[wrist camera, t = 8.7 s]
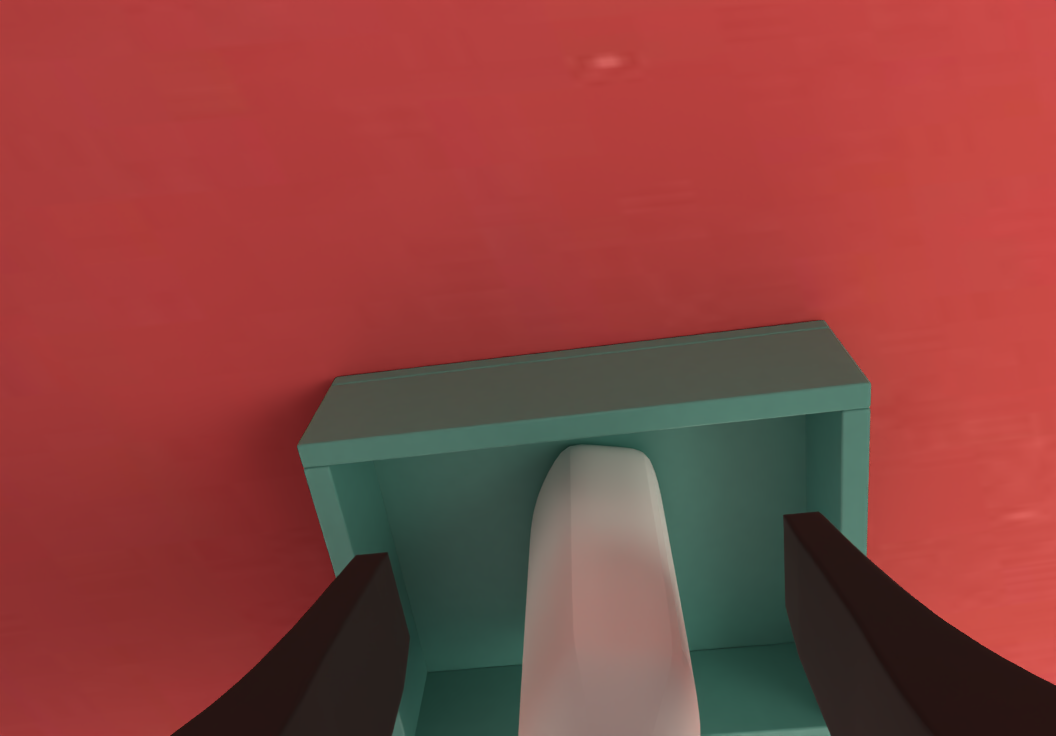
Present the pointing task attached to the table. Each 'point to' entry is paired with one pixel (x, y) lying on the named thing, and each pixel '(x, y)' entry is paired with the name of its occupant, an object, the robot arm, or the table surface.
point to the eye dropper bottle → (604, 605)
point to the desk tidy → (519, 472)
